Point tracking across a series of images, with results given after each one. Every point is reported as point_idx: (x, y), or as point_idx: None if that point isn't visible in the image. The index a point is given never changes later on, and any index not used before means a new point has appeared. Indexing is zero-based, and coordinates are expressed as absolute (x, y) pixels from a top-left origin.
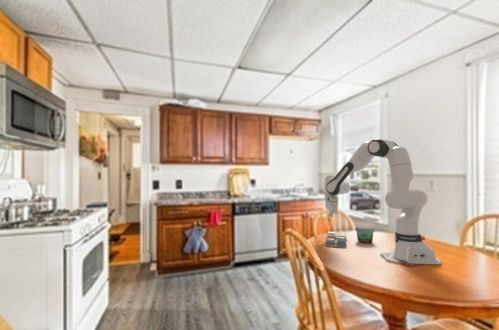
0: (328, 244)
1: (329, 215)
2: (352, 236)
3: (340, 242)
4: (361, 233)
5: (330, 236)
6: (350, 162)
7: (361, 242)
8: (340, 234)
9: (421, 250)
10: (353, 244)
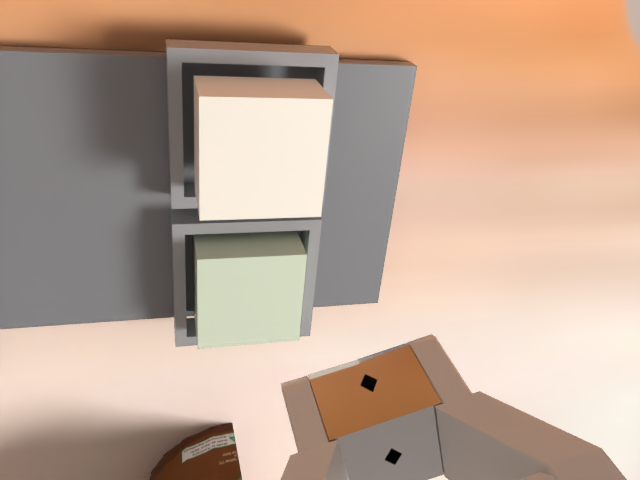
0: None
1: (421, 356)
2: (471, 356)
3: None
4: None
5: (194, 119)
6: None
7: (159, 465)
8: (293, 282)
9: None
10: (42, 399)
